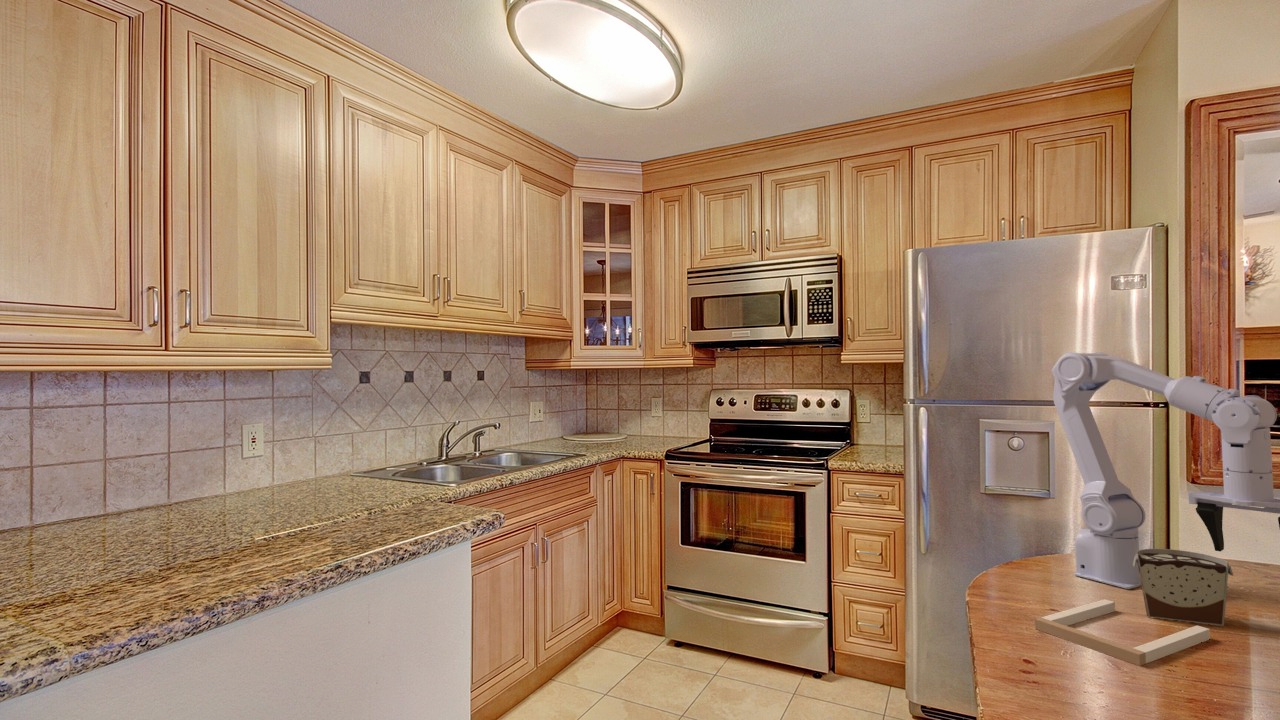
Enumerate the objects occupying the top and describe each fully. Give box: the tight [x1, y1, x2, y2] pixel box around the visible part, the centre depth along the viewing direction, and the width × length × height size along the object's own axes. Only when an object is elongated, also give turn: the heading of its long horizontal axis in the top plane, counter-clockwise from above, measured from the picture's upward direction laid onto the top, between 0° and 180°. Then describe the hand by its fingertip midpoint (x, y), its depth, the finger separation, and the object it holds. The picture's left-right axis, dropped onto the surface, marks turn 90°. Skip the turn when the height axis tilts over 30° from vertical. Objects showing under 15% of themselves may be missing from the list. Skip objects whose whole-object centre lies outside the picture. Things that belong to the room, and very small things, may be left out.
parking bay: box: [1034, 598, 1211, 667], centre depth 92 cm, size 14×18×2 cm
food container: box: [1133, 548, 1234, 627], centre depth 99 cm, size 12×6×10 cm, turn 65°
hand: (1251, 555), depth 98 cm, fingers open, 7 cm apart
